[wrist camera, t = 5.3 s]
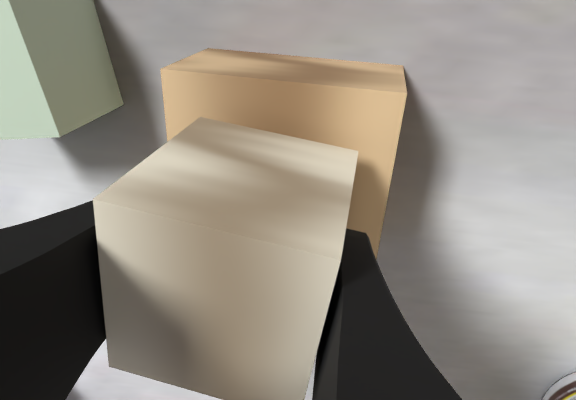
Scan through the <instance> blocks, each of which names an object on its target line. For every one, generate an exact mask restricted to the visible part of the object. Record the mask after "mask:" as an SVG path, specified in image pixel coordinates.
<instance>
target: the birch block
mask: <svg viewBox="0 0 576 400" xmlns="http://www.w3.org/2000/svg"><path fill="white" fill-rule="evenodd" d="M357 158H358V151H356V150H351V149H347V148H342V147H338V146H333V145H328V144H324V143H319V142H314V141H310V140H305V139H301V138H296V137H291V136H287V135H282V134H277V133H273V132H268V131H264V130H259V129H254V128H250V127H245V126H240V125H236V124H231V123H227V122H222V121H217V120H213V119H208V118H204V117H199V118H198V119H197V120H195V121H194V122H193V123H191V124H190V125H189V126H188V127H186V128H185V129H184V130H182V131H181V132H180V133H178V134H177V135H176V136H174V137H173V138H172V139H171V140H169V141H168V142H167V143H165V144H164V145H163V146H161V147H160V148H159V149H157V150H156V151H155V152H154V153H152V154H151V155H150V156H148V157H147V158H146V159H144V160H143V161H142V162H141V163H139V164H138V165H137V166H135V167H134V168H133V169H131V170H130V171H129V172H127V173H126V174H125V175H124V176H122V177H121V178H120V179H118V180H117V181H116V182H114V183H113V184H112V185H111V186H109V187H108V188H107V189H105V190H104V191H103V192H101V193H100V194H99V195H97V196H96V197H95V198H94V199H93V207H94V217H95V227H96V238H97V248H98V258H99V269H100V279H101V289H102V299H103V310H104V320H105V330H106V341H107V351H108V361H109V367H112V368H116V369H119V370H123V371H126V372H130V373H133V374H137V375H140V376H143V377H147V378H150V379H154V380H157V381H161V382H164V383H168V384H171V385H175V386H178V387H181V388H185V389H188V390H192V391H195V392H199V393H202V394H206V395H209V396H212V397H216V398H219V399H223V400H304V398H305V395H306V391H307V387H308V383H309V379H310V376H311V372H312V368H313V364H314V361H315V357H316V353H317V349H318V345H319V342H320V338H321V334H322V330H323V326H324V323H325V319H326V315H327V311H328V307H329V304H330V300H331V296H332V292H333V288H334V285H335V281H336V277H337V273H338V269H339V266H340V262H341V257H342V251H343V245H344V238H345V232H346V226H347V220H348V214H349V207H350V201H351V195H352V189H353V182H354V176H355V170H356V164H357Z"/></svg>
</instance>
